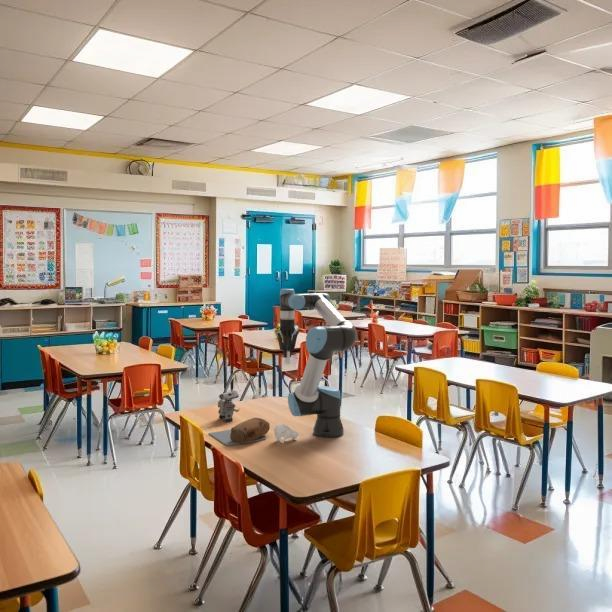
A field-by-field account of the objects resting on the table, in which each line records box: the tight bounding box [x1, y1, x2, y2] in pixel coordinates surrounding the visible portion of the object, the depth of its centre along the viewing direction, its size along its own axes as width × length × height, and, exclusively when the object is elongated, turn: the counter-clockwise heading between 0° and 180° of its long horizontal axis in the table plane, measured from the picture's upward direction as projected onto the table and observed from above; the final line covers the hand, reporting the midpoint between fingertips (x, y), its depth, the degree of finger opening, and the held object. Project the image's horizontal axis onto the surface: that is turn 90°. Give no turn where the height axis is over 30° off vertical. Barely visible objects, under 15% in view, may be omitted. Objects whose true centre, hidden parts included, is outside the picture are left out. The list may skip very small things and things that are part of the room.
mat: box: [208, 429, 266, 447], centre depth 292 cm, size 22×20×1 cm
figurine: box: [217, 390, 241, 423], centre depth 323 cm, size 9×12×15 cm
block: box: [230, 417, 271, 444], centre depth 289 cm, size 11×8×20 cm
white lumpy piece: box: [273, 423, 299, 444], centre depth 286 cm, size 6×8×12 cm
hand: (287, 363), depth 311 cm, fingers closed
